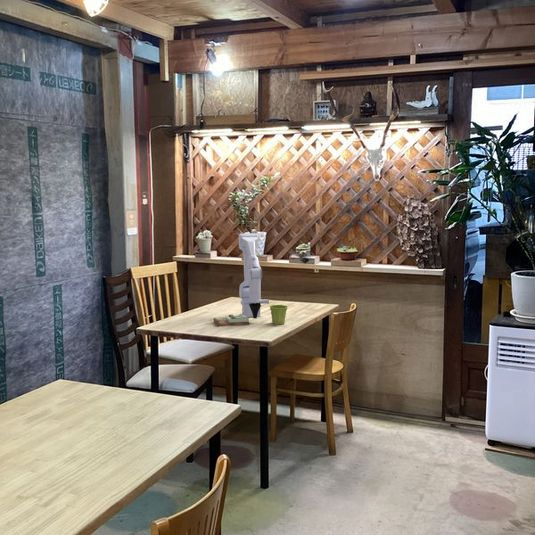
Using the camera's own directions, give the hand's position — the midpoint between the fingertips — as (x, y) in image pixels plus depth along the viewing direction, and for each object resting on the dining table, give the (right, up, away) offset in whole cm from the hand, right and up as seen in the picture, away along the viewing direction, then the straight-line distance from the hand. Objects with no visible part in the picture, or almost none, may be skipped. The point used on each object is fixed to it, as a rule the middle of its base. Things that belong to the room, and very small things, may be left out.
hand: (254, 318), depth 311 cm
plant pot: (+12, -3, -2) cm, 12 cm away
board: (-12, -2, -3) cm, 12 cm away
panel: (-9, -1, -3) cm, 9 cm away
